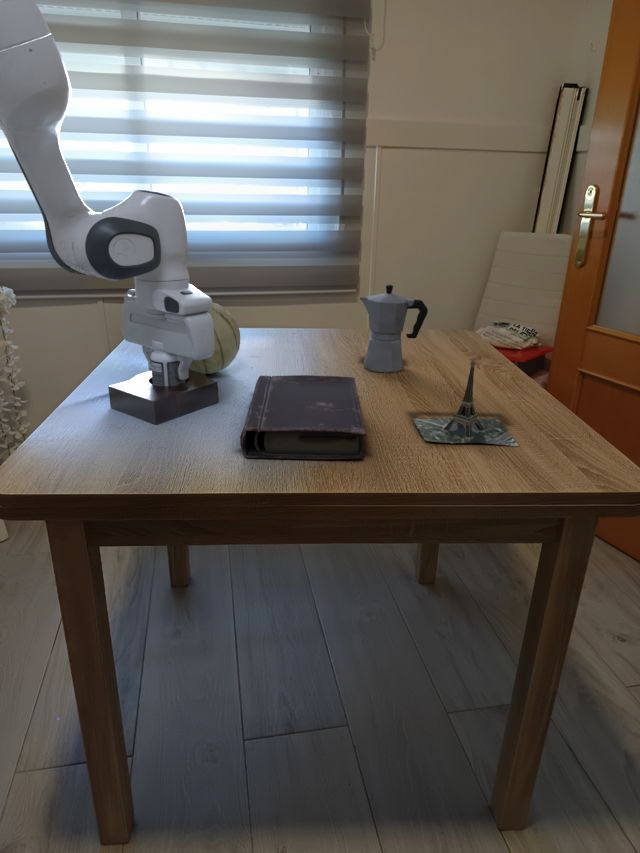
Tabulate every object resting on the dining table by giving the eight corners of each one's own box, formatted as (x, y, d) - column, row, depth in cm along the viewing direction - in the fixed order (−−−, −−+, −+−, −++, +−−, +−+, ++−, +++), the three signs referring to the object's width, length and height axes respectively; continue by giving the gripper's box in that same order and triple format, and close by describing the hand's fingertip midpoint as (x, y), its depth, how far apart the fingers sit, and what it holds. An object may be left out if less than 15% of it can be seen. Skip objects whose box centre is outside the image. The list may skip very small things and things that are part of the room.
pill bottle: (187, 388, 106) (184, 335, 102) (185, 399, 100) (182, 343, 97) (154, 389, 105) (150, 335, 101) (151, 399, 99) (147, 343, 96)
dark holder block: (155, 425, 92) (154, 401, 91) (104, 405, 100) (102, 383, 98) (225, 400, 104) (224, 379, 103) (174, 384, 112) (173, 364, 110)
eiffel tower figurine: (498, 421, 99) (510, 346, 94) (519, 446, 90) (534, 363, 84) (412, 420, 98) (419, 344, 93) (424, 445, 89) (434, 361, 84)
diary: (239, 459, 82) (239, 426, 80) (255, 399, 105) (255, 373, 103) (369, 462, 82) (372, 430, 80) (357, 402, 105) (358, 376, 104)
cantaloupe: (235, 361, 128) (234, 293, 122) (246, 381, 115) (244, 306, 109) (167, 364, 124) (162, 294, 118) (170, 385, 111) (164, 307, 105)
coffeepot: (347, 367, 126) (351, 284, 119) (364, 357, 134) (370, 279, 127) (413, 379, 120) (422, 292, 113) (428, 368, 127) (437, 286, 120)
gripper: (108, 289, 99) (116, 366, 104) (190, 306, 88) (194, 391, 93) (139, 285, 104) (145, 359, 109) (219, 301, 93) (222, 382, 98)
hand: (168, 374), depth 101 cm, fingers closed on pill bottle, 6 cm apart
